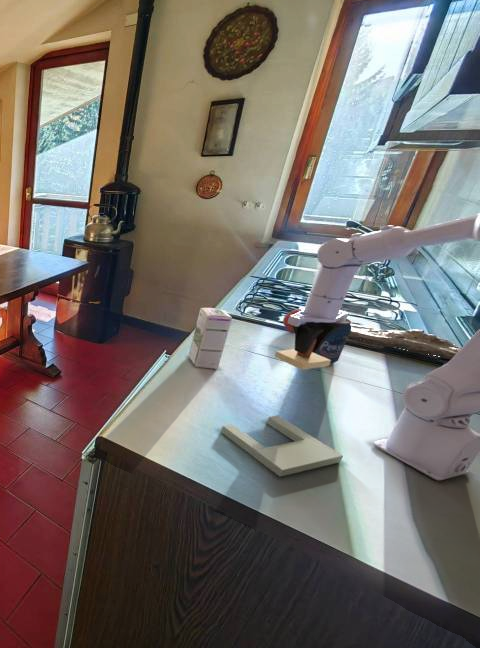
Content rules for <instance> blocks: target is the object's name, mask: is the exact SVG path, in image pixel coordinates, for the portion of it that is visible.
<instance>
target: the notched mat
mask: <svg viewBox="0 0 480 648" xmlns="http://www.w3.org/2000/svg"><path fill="white" fill-rule="evenodd" d="M266 424H267V425H269V426H270V427H271V428H273V429H275V430H276V431H277V432H279V433H281V434H283V436H286V437H287V438H289V440H292V441H291V442H287V443H282V444H277V445H273V446H269V447H265V446H264V445H262V444H261V443H259V442H258V441H257V440H255V439H254V438H253V437H251V436H250V435H249V434H247V433H246V432H244V431H243V430H241V429H240V428H238V427H237V426H236V425H234V424H233V423H230V424H226V425H222V426H221V429H220V433H222V434H223V435H224V436H225V437H227V438H228V439H229V440H231V441H232V442H233V443H235V444H236V445H237V446H239V447H240V448H241V449H242V450H244V451H245V452H247V453H248V454H249V455H250V456H252V457H253V458H254V459H256V460H257V461H258V462H259V463H261V464H262V465H263V466H265V467H266V468H268V469H269V470H270V471H271V472H273V474H276V475H277V476H278V477H280V478H281V477H285V476H289V475H293V474H296V473H297V474H298V473H301V472H305V471H309V470H313V469H318V468H321V467H322V468H323V467H327V466H329V465H335V464H338V463H341V461H342V459H343V457H344V455H343V454H341V453H340V452H338V451H336V450H335V449H333V448H332V447H330V446H328V445H326V444H325V443H323V442H322V441H320V440H318V439H317V438H315V437H314V436H312V435H310V434H308V433H307V432H305V431H304V430H303V429H301V428H299V427H297V426H296V425H294V424H293V423H291V422H290V421H288V420H286V419H285V418H283V417H282V416H279V415H272V416H268V418H267V420H266Z"/></svg>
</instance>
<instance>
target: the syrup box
mask: <svg viewBox="0 0 480 648" xmlns="http://www.w3.org/2000/svg"><path fill="white" fill-rule="evenodd" d="M198 313H199V314H198V317H197V321H196V323H195V328H194V333H193V336H192V340H191V344H190V347H189V348H190V349H189V352H188V356H187V357H188V358H189V360H190V362H191V363H192V364H193V365H194V367H196V368H204V369H214V370H218V369H219V366H220V362H221V359H222V356H223V352H224V349H225V346H226V342H227V337H228V334H229V332H230V331H229V330H230V327H231V323H232V320H233V316H231V315H230V314H229V313H228V312H227V311H226V310H225V309H222V308H216V307H200V309H199V312H198Z"/></svg>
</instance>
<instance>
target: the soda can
mask: <svg viewBox="0 0 480 648" xmlns="http://www.w3.org/2000/svg"><path fill="white" fill-rule="evenodd" d="M333 323H335V324H338V325H340V329H339V330H337V331H336V332H334V333H333V334H332V335H331V336H329V337H328V338H327V339H326V340H325V342H324V343H323V344H322V345H321V346H320V348H319V349H318V350H317V351H316V352H315V354H318V355H320V356H322V357H325V358H327V359H329V360H331V362H330V364H329V366H331V365H333V364H334V363H337V362H338V361H339V360H340V357H341V354H342V352H343V350H344V348H345V346H346V343H347V341H348V336H349V334H350V332H351V329H352V328H351V324H352V321H351V320H350V319H348V318H346V321H340V320H338V321H336V322H333Z"/></svg>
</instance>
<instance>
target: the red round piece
mask: <svg viewBox="0 0 480 648" xmlns="http://www.w3.org/2000/svg"><path fill="white" fill-rule="evenodd" d="M298 309H299V308H297V309H294V310H292V311H290V312H288V313H286V314H285V316H284V317H283V320H282V323H283V326H284V327H285V328H286V329H287V330H288V331H289V333H294V329H293V326H292V325H291V324H288V323H287V322H288V319H289V317H290V315H294V314H296V313H298V312H299V311H298Z"/></svg>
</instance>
